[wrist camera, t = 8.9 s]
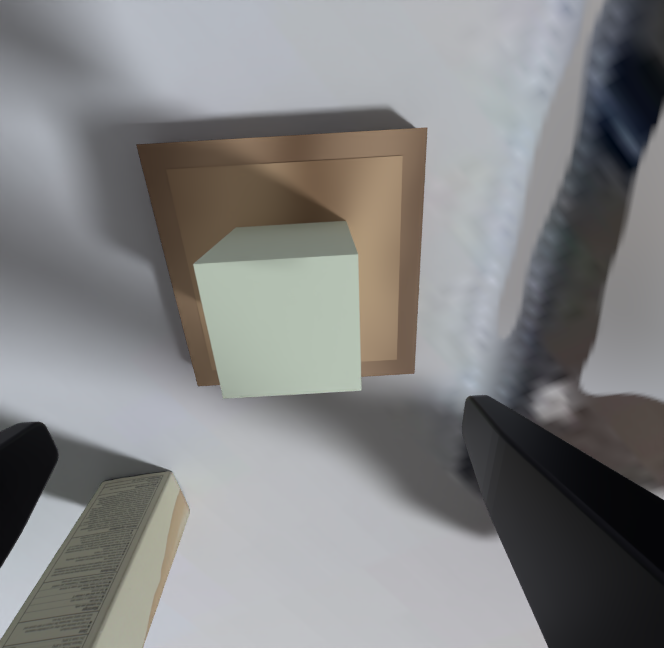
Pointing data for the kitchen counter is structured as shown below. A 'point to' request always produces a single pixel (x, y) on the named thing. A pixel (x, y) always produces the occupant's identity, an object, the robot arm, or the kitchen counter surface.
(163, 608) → the kitchen counter surface
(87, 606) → the box
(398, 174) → the plinth
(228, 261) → the block
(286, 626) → the kitchen counter surface
